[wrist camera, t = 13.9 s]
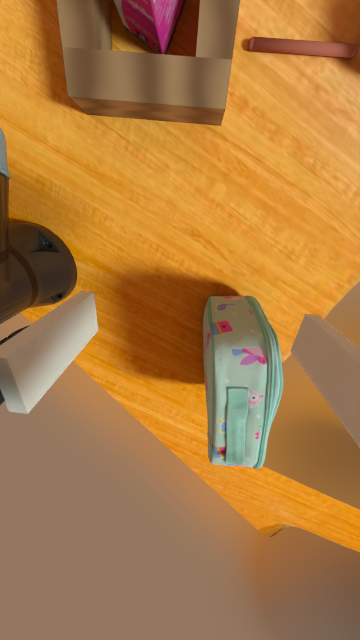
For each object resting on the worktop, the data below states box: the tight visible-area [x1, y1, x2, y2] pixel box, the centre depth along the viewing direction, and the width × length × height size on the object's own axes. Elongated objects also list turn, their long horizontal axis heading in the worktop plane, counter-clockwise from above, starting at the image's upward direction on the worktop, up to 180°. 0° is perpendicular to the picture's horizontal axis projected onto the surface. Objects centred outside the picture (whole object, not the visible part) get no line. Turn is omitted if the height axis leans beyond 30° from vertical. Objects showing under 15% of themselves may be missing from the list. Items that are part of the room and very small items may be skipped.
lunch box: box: [203, 296, 283, 469], centre depth 36 cm, size 27×10×21 cm, turn 5°
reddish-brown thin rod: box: [248, 37, 358, 58], centre depth 25 cm, size 13×1×1 cm, turn 85°
